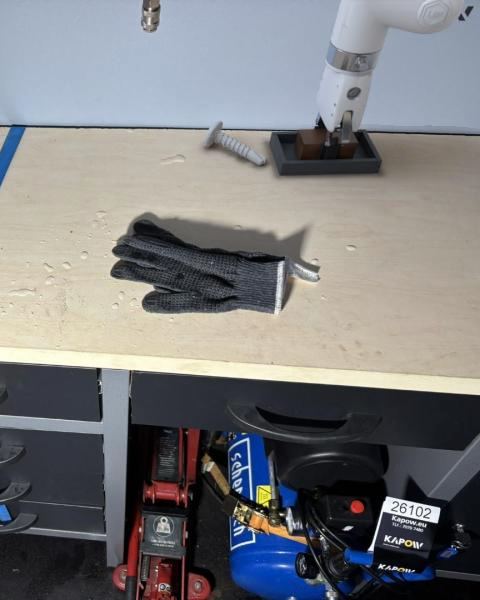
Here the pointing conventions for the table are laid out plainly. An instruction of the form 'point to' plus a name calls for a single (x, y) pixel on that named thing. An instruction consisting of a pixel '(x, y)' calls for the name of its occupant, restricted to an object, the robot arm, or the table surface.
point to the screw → (231, 144)
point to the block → (320, 144)
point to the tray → (288, 163)
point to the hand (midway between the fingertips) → (322, 153)
